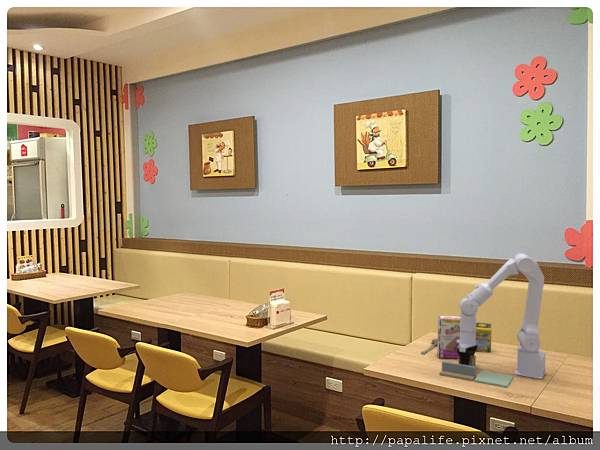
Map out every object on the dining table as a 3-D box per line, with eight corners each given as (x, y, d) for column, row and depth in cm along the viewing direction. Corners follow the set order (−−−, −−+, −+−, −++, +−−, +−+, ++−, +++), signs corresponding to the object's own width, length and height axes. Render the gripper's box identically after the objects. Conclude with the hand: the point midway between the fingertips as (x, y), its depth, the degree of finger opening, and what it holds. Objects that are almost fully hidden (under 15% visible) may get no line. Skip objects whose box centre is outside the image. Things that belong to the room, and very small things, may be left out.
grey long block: (475, 377, 194) (476, 366, 194) (472, 381, 190) (473, 370, 190) (442, 371, 200) (443, 360, 200) (439, 374, 197) (439, 364, 196)
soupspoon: (449, 345, 236) (435, 343, 240) (449, 338, 236) (435, 336, 240) (430, 356, 219) (414, 354, 222) (429, 348, 218) (414, 346, 222)
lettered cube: (475, 368, 203) (475, 355, 203) (471, 372, 199) (472, 359, 198) (462, 366, 206) (462, 353, 205) (458, 370, 201) (458, 357, 201)
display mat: (513, 377, 193) (513, 376, 193) (507, 387, 184) (507, 385, 184) (481, 372, 199) (482, 370, 199) (474, 381, 190) (474, 379, 190)
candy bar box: (438, 358, 215) (439, 318, 214) (436, 355, 220) (437, 315, 219) (467, 359, 214) (468, 319, 212) (465, 355, 219) (465, 316, 217)
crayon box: (472, 351, 225) (473, 323, 224) (472, 349, 228) (473, 322, 227) (490, 352, 223) (491, 325, 222) (490, 350, 225) (491, 323, 225)
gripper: (462, 324, 209) (461, 358, 210) (451, 333, 197) (450, 369, 198) (481, 327, 206) (480, 361, 207) (471, 336, 193) (470, 373, 194)
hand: (467, 365), depth 202 cm, fingers closed on lettered cube, 5 cm apart
